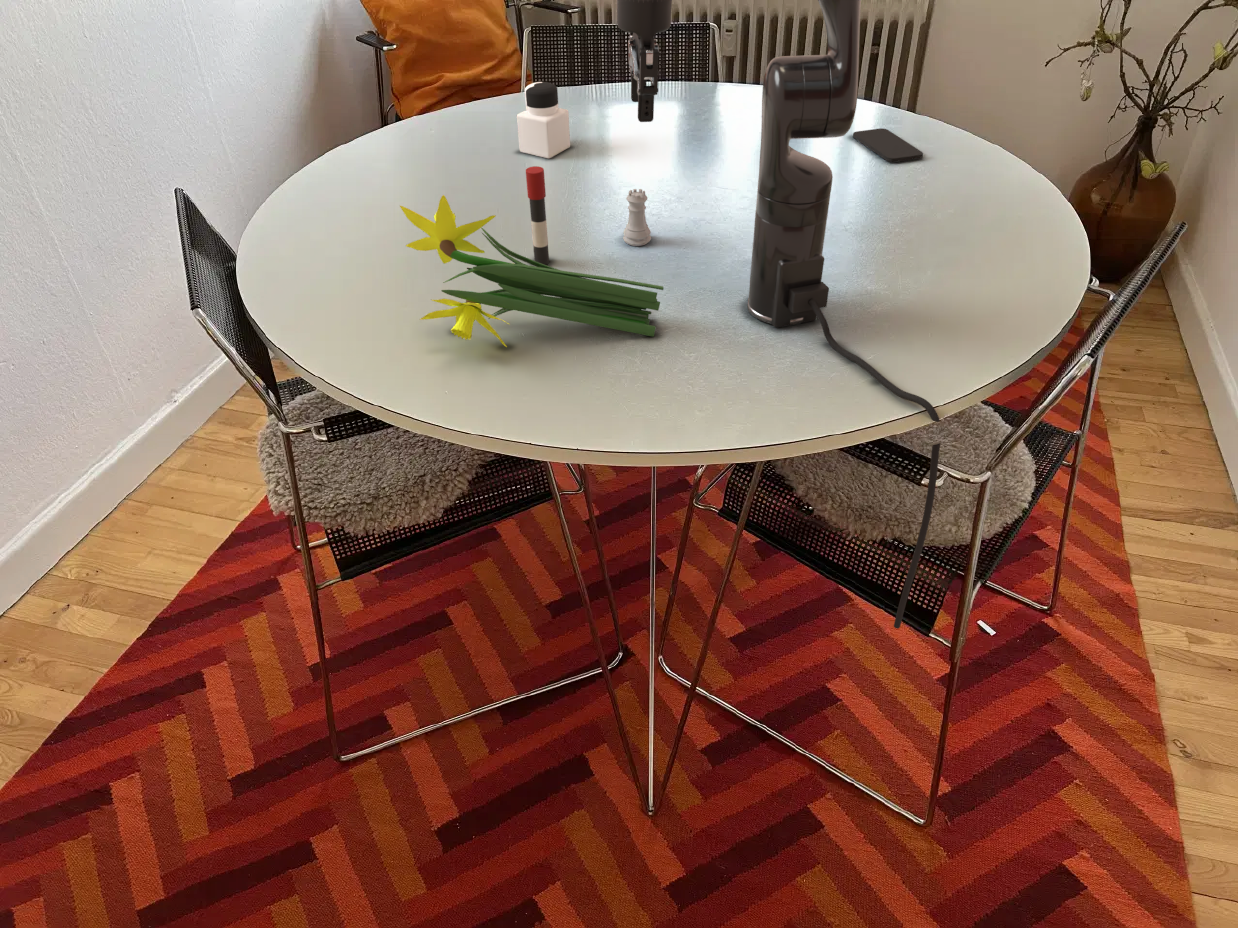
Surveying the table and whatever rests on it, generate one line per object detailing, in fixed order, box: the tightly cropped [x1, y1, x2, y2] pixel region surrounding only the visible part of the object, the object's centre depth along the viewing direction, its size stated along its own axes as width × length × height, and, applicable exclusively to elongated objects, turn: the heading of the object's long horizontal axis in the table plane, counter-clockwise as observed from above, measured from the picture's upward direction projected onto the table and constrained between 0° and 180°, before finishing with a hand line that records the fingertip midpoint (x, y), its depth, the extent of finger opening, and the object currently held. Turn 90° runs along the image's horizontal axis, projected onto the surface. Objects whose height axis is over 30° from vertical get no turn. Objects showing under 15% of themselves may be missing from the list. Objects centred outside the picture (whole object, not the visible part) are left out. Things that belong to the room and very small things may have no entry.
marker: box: [525, 165, 550, 266], centre depth 134 cm, size 3×3×14 cm
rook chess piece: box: [622, 188, 652, 247], centre depth 142 cm, size 4×4×8 cm
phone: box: [852, 128, 924, 163], centre depth 172 cm, size 7×1×15 cm
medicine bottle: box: [516, 81, 571, 159], centre depth 171 cm, size 7×7×12 cm
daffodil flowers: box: [399, 194, 665, 348], centre depth 119 cm, size 17×15×35 cm
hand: (641, 111), depth 135 cm, fingers open, 8 cm apart
